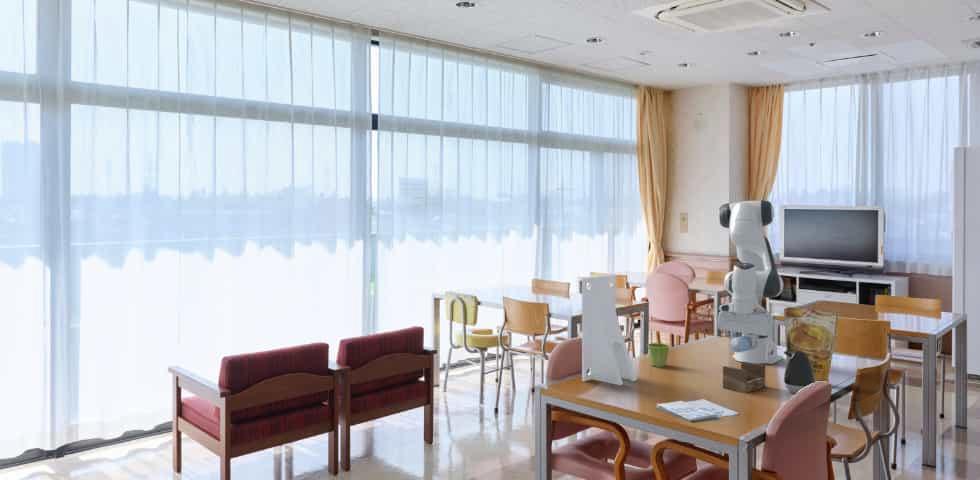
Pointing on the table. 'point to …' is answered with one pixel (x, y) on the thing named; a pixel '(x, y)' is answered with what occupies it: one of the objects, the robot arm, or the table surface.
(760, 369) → the open wooden box
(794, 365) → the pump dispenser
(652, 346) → the plant pot
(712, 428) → the table surface
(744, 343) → the blue roll
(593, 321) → the white bracket plate
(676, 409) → the light blue flat cloth
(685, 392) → the table surface
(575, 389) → the table surface
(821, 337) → the pancake mix bag
